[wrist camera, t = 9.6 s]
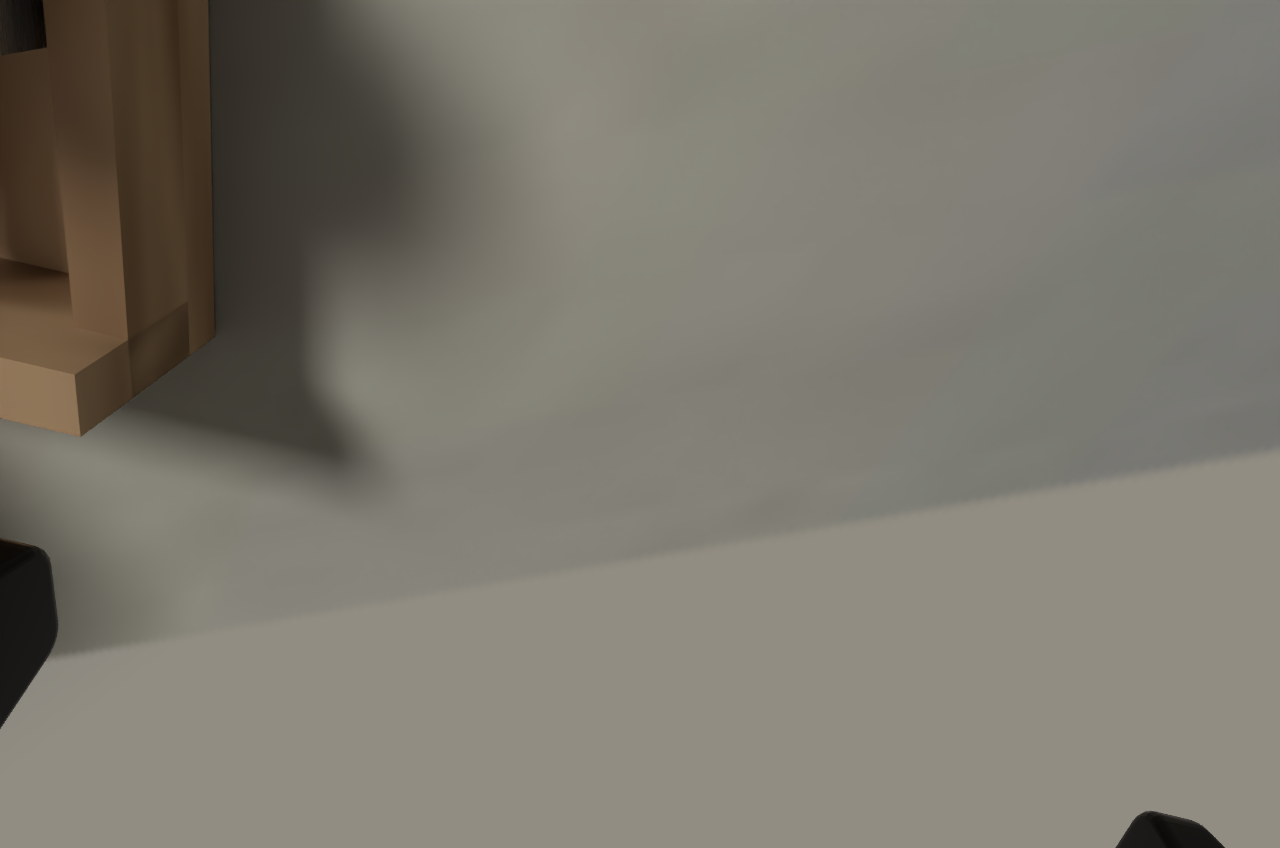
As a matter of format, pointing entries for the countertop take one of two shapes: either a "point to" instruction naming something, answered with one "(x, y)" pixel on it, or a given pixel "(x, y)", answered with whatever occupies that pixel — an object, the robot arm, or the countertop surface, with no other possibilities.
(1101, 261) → the countertop surface
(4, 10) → the pusher
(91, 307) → the wooden tray
